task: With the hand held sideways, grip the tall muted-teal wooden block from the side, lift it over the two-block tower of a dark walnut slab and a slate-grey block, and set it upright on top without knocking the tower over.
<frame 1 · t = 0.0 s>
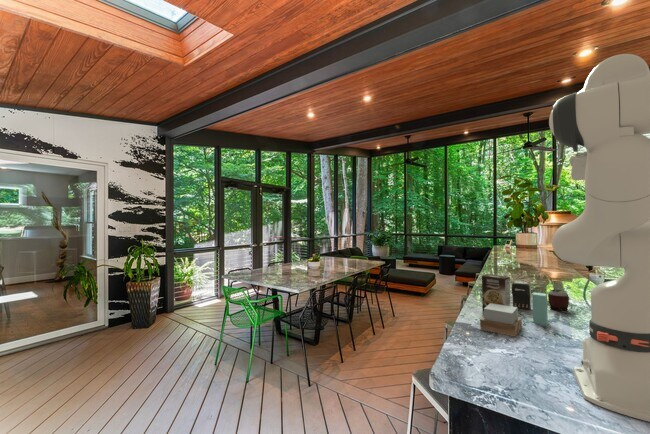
hand: (613, 191, 94), 48 cm above the counter, tool pointing down, fingers open, 8 cm apart
tower base: (501, 329, 109), on the counter, touching tower top
mate gourd: (557, 309, 130), on the counter
battery charger: (521, 308, 132), on the counter
coffee box: (496, 314, 125), on the counter
teal block: (540, 323, 113), on the counter
tower top: (501, 318, 109), point 3 cm above the counter, touching tower base
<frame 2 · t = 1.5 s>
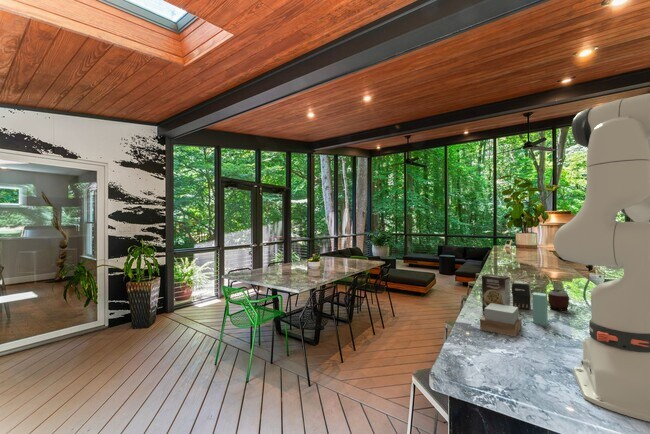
hand: (576, 256, 104), 26 cm above the counter, tool horizontal, fingers open, 8 cm apart
tower base: (501, 329, 109), on the counter
tower top: (501, 318, 109), point 3 cm above the counter
everything else where it was.
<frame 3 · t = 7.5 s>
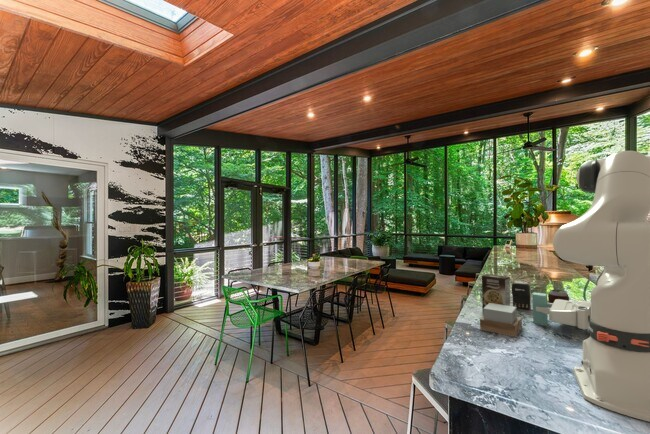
hand: (537, 306, 114), 6 cm above the counter, tool horizontal, fingers closed on teal block, 4 cm apart
tower base: (501, 329, 109), on the counter, touching tower top
teal block: (540, 323, 113), on the counter, touching gripper
tower top: (500, 318, 109), point 4 cm above the counter, touching tower base
everything else where it was.
when the fingers open (16 cm above the counter, at t = 17.6 s): teal block drops 2 cm, point 8 cm above the counter.
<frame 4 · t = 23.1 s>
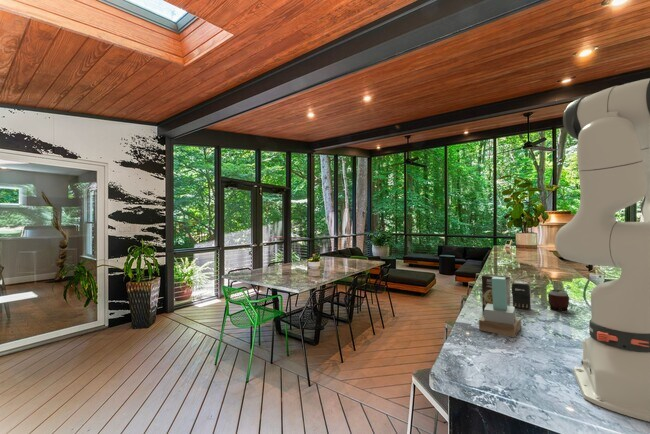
hand: (570, 247, 101), 30 cm above the counter, tool horizontal, fingers open, 8 cm apart
teal block: (500, 308, 108), point 8 cm above the counter
at the end: teal block 0.4 cm off-centre on the tower top, point 4.0 cm above the tower top's base; teal block tilted 1°; tower top moved 0.9 cm from its start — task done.
